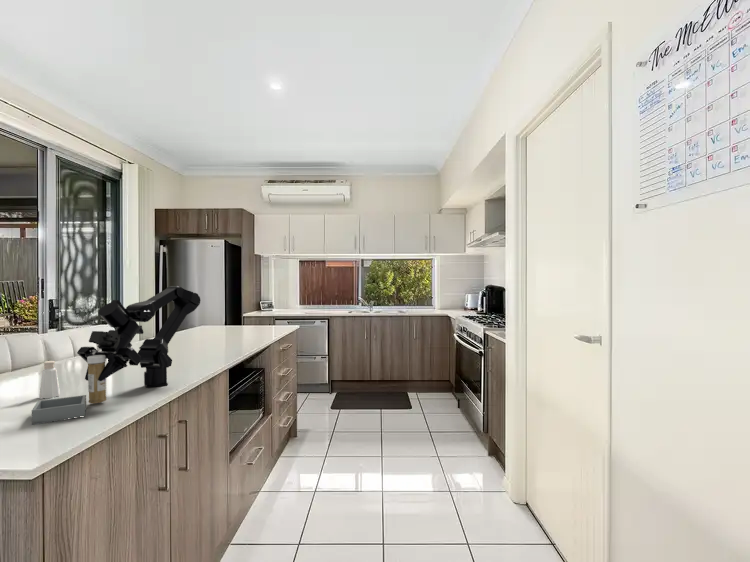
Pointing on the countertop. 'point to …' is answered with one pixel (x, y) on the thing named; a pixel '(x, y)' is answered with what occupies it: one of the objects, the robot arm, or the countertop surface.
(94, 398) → the sprinkles bottle
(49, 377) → the pepper shaker
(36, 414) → the tray
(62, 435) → the countertop surface
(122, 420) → the countertop surface
